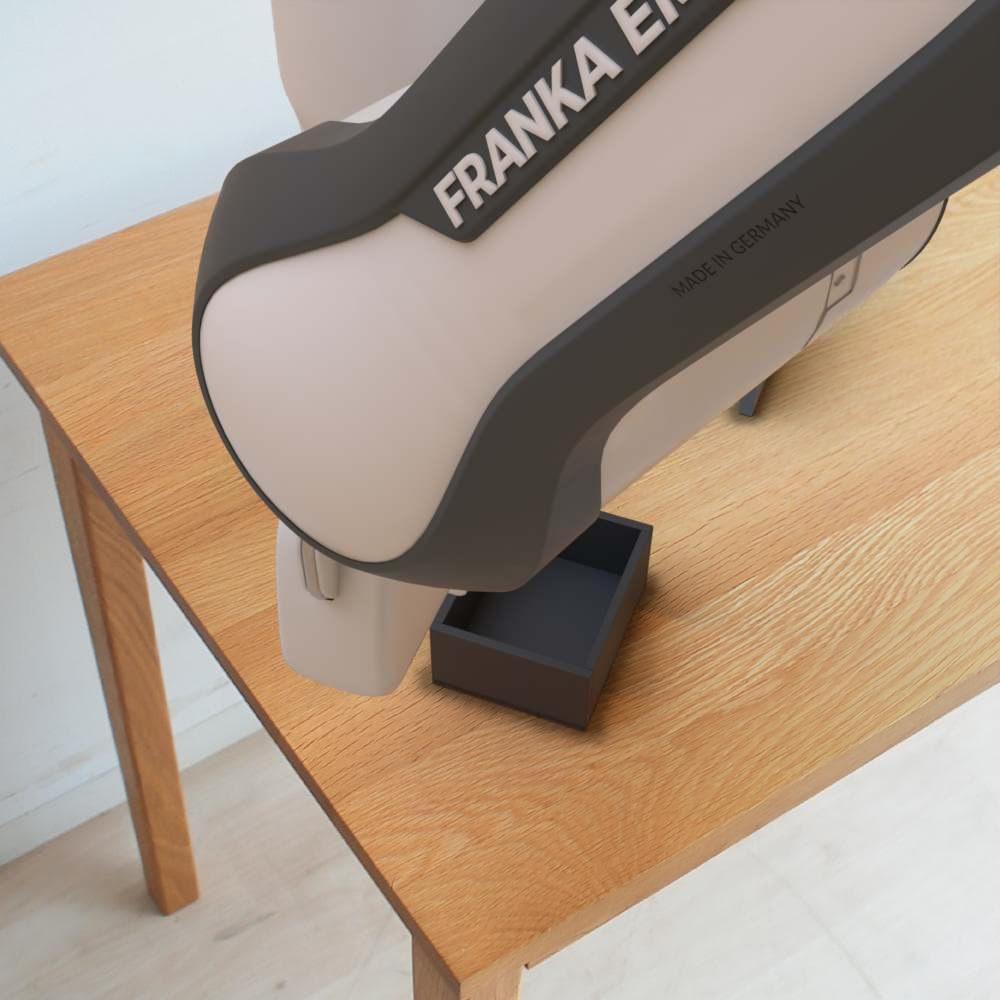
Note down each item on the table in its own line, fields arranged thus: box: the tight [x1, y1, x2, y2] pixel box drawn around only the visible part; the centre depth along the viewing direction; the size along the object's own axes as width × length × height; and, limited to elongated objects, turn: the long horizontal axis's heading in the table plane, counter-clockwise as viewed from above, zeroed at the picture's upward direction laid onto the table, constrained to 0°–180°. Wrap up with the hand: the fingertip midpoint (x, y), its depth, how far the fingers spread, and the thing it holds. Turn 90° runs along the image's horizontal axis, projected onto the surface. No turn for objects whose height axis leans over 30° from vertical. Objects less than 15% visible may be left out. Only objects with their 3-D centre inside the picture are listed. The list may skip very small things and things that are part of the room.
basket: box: [428, 510, 654, 733], centre depth 72 cm, size 10×8×4 cm
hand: (459, 564), depth 54 cm, fingers closed
